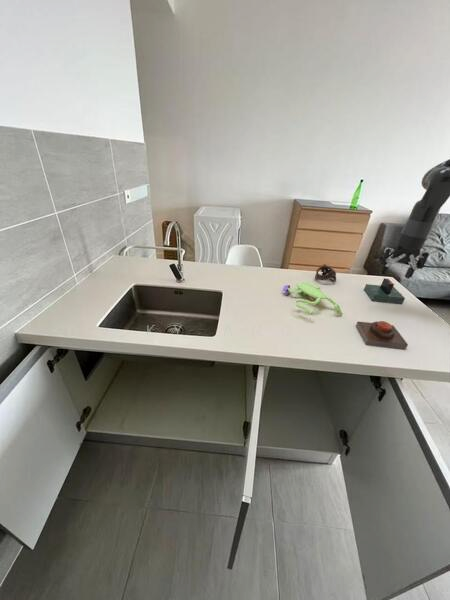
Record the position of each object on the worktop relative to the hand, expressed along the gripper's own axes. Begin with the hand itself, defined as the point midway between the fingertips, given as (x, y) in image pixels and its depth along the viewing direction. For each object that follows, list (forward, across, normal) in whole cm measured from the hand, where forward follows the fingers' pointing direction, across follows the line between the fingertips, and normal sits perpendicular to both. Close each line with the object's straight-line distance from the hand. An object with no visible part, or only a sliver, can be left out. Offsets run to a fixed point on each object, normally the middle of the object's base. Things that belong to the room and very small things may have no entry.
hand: (394, 276), depth 91 cm
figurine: (+14, +28, +3) cm, 32 cm away
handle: (+11, -4, -10) cm, 15 cm away
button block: (+14, +8, +20) cm, 26 cm away
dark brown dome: (+14, +18, -21) cm, 31 cm away
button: (+10, +8, +20) cm, 24 cm away
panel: (+14, -4, -10) cm, 18 cm away
